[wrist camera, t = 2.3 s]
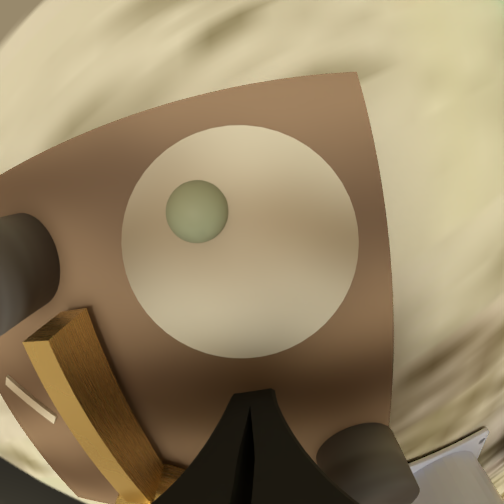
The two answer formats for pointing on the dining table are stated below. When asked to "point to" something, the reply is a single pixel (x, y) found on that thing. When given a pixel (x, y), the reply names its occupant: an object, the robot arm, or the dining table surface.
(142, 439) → the brass lever handle
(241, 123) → the levelling base
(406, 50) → the dining table surface
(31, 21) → the dining table surface
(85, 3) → the dining table surface
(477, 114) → the dining table surface
